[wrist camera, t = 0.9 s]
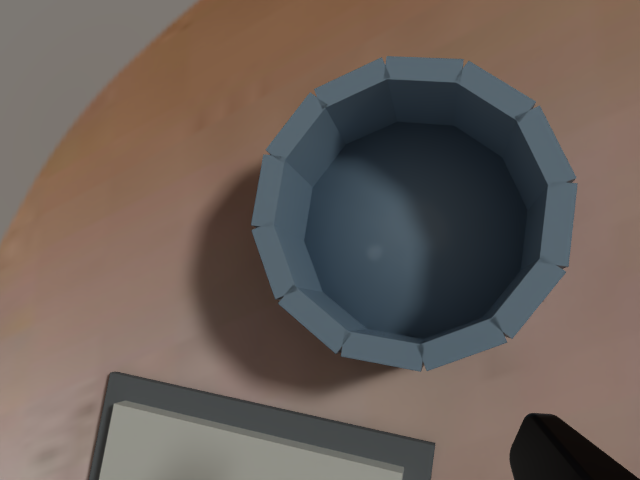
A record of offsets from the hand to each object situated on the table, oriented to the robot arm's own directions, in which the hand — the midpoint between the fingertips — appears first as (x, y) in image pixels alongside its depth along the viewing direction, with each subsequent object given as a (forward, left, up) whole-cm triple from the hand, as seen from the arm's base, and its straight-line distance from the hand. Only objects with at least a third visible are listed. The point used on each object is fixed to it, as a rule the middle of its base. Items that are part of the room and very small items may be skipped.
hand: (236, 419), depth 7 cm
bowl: (+5, -1, -13) cm, 14 cm away
